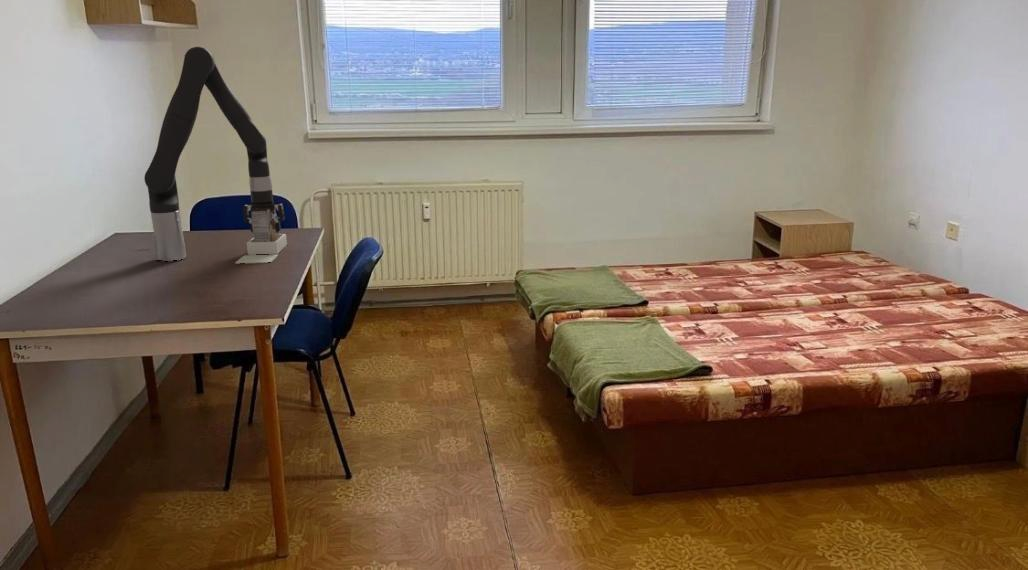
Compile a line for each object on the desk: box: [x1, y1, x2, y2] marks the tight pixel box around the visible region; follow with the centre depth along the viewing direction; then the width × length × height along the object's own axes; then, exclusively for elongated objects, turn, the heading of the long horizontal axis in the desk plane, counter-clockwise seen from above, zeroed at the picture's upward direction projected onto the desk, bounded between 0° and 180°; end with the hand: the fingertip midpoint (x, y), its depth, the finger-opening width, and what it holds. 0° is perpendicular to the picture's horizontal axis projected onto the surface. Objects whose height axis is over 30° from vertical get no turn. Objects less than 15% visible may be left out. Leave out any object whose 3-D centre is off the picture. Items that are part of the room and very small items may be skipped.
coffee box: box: [250, 208, 280, 242], centre depth 267 cm, size 9×6×16 cm
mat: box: [235, 254, 279, 265], centre depth 256 cm, size 12×10×1 cm
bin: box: [246, 233, 288, 255], centre depth 269 cm, size 11×14×4 cm
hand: (266, 232), depth 268 cm, fingers open, 8 cm apart
